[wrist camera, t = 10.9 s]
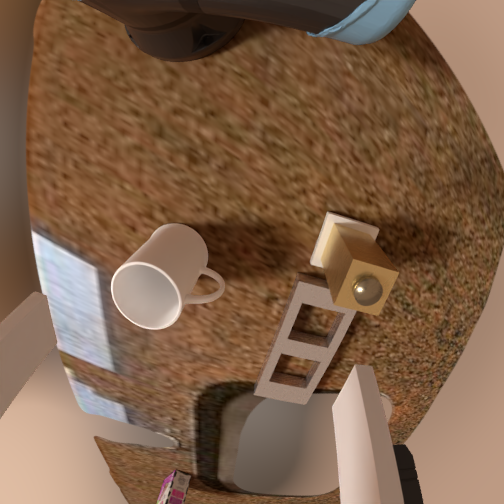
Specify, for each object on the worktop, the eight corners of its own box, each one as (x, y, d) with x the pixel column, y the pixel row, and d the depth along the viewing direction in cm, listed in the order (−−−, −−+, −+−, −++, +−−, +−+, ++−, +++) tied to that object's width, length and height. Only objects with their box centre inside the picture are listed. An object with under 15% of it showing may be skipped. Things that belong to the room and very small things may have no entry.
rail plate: (297, 272, 41) (299, 281, 39) (358, 288, 42) (362, 297, 39) (254, 384, 50) (253, 394, 48) (304, 394, 50) (305, 404, 48)
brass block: (333, 223, 37) (355, 262, 27) (369, 234, 38) (401, 276, 27) (320, 259, 39) (334, 309, 28) (355, 269, 39) (380, 320, 29)
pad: (327, 211, 38) (328, 213, 37) (377, 227, 38) (379, 229, 37) (309, 261, 41) (310, 264, 40) (358, 274, 41) (359, 277, 40)
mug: (239, 240, 40) (224, 284, 29) (223, 295, 44) (206, 350, 33) (153, 215, 40) (111, 248, 29) (144, 270, 43) (107, 316, 32)
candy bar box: (174, 468, 66) (160, 518, 51) (191, 475, 66) (180, 524, 51) (162, 479, 70) (149, 523, 55) (178, 485, 70) (166, 529, 55)
